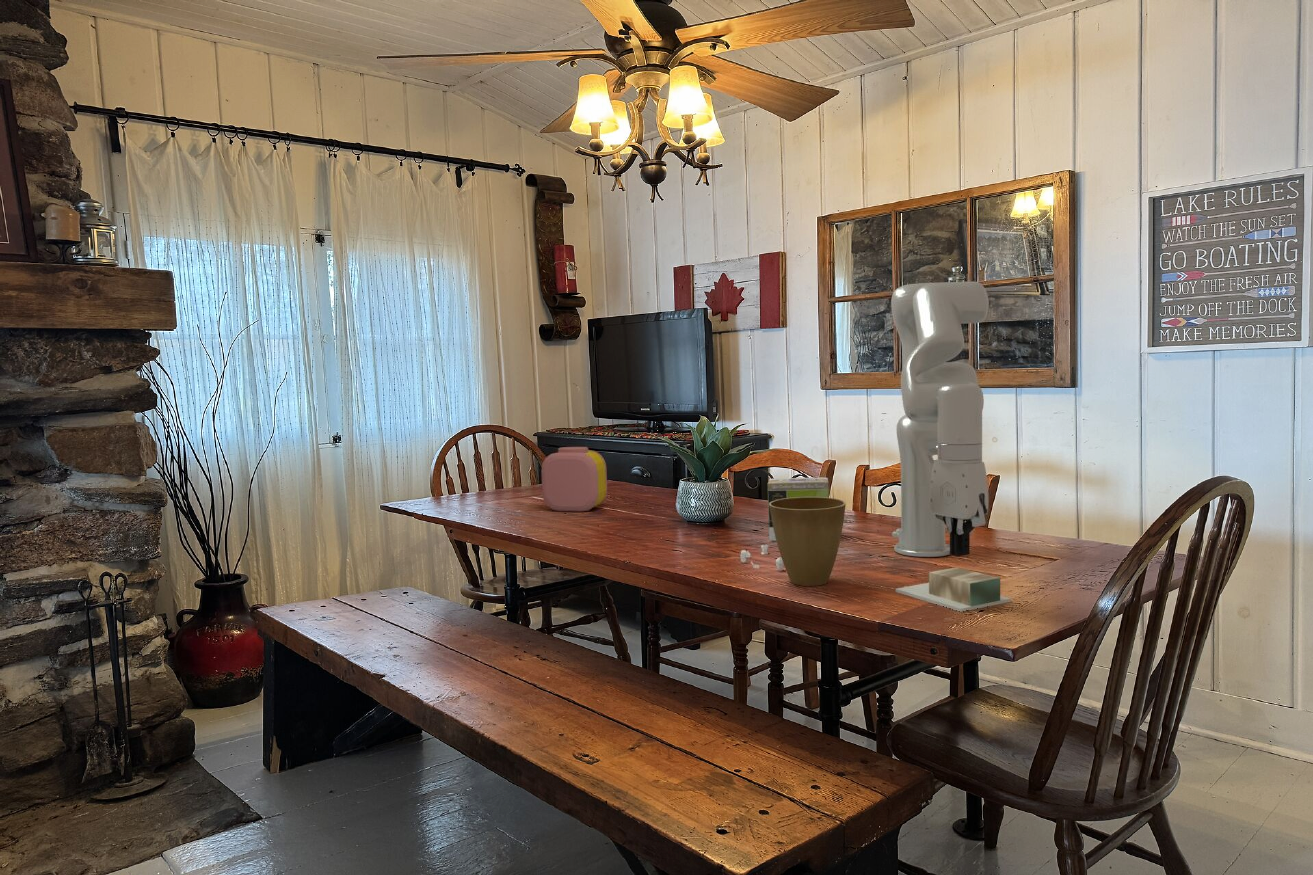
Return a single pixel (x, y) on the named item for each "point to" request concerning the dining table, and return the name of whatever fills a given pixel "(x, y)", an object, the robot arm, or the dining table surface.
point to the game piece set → (764, 551)
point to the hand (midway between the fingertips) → (959, 554)
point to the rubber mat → (923, 594)
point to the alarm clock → (574, 479)
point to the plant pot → (808, 536)
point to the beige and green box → (964, 586)
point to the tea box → (795, 492)
